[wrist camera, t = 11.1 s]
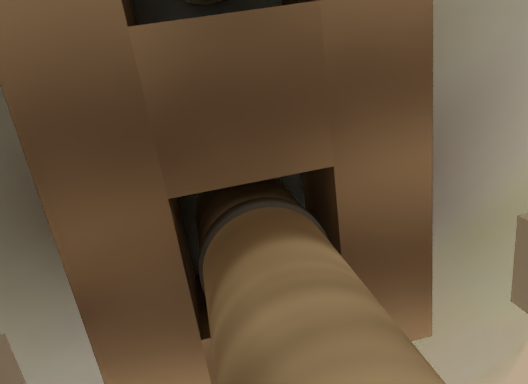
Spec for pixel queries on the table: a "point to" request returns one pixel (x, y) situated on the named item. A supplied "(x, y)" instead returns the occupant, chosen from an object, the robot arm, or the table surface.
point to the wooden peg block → (219, 152)
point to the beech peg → (291, 298)
